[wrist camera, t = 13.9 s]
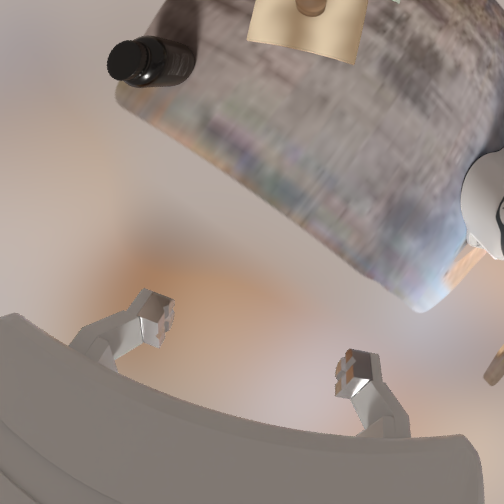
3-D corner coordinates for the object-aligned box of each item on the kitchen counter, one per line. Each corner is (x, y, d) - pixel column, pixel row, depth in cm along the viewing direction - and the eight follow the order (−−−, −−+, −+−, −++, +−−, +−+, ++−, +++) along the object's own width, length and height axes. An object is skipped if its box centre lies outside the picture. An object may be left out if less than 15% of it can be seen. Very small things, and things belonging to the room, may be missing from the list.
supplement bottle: (174, 34, 28) (125, 20, 18) (205, 61, 30) (163, 51, 20) (144, 69, 31) (91, 68, 21) (173, 95, 33) (123, 101, 23)
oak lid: (370, -15, 17) (378, -30, 13) (353, 64, 24) (361, 59, 20) (267, -37, 17) (261, -54, 14) (248, 40, 24) (237, 32, 20)
